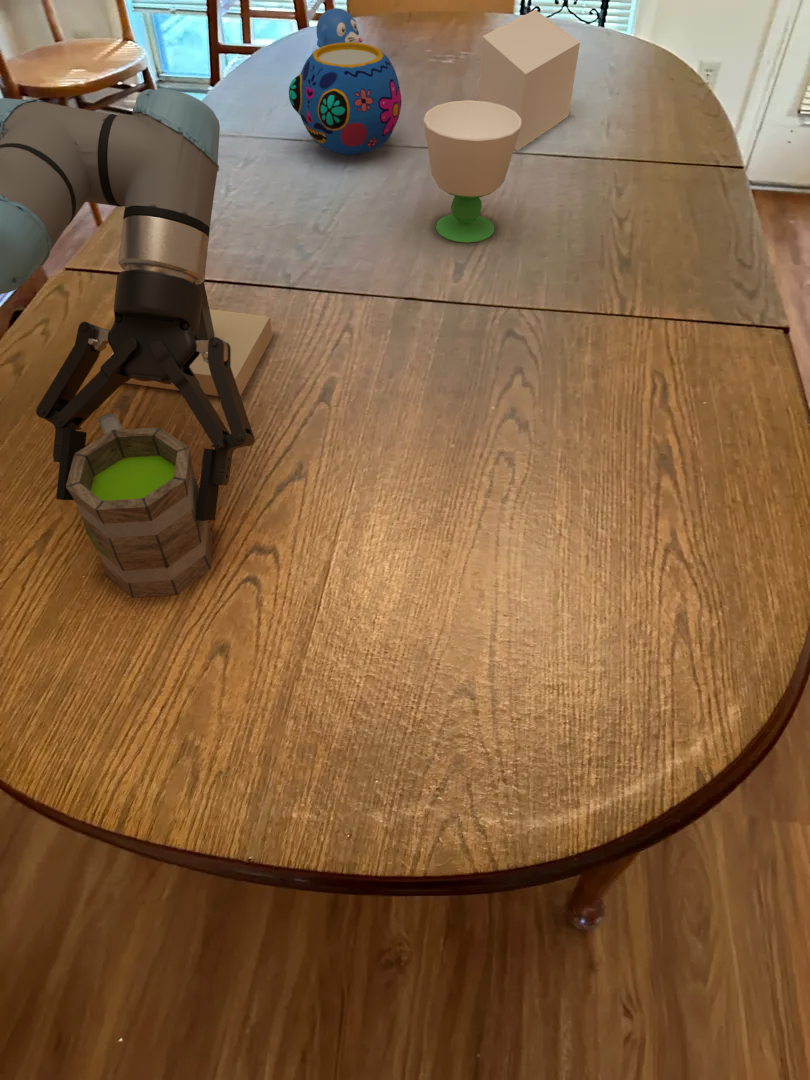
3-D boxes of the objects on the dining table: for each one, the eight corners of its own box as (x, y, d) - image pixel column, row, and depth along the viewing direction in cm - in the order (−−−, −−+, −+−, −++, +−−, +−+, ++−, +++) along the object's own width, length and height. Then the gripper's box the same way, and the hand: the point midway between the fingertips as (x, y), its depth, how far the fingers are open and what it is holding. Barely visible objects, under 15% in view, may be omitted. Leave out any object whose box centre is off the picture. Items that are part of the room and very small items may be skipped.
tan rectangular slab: (112, 381, 95) (105, 359, 92) (156, 321, 103) (150, 300, 101) (239, 399, 93) (234, 377, 90) (272, 336, 101) (269, 315, 99)
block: (467, 147, 140) (473, 70, 130) (484, 76, 162) (490, 6, 153) (566, 155, 138) (579, 77, 129) (569, 82, 161) (580, 12, 151)
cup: (422, 251, 116) (425, 139, 104) (418, 207, 125) (420, 100, 113) (515, 251, 116) (528, 139, 104) (504, 207, 125) (515, 99, 113)
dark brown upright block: (166, 339, 95) (150, 278, 89) (172, 330, 97) (157, 269, 90) (209, 345, 95) (196, 283, 89) (215, 335, 96) (202, 274, 90)
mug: (231, 574, 76) (209, 485, 66) (119, 616, 72) (80, 529, 63) (182, 472, 85) (156, 382, 75) (80, 506, 81) (41, 416, 72)
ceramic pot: (281, 146, 139) (270, 51, 128) (357, 120, 147) (354, 28, 136) (343, 180, 131) (338, 81, 119) (421, 150, 139) (423, 55, 127)
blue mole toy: (342, 70, 164) (340, 24, 158) (304, 56, 169) (300, 11, 163) (382, 56, 170) (382, 11, 163) (344, 43, 175) (342, -2, 169)
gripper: (304, 303, 73) (276, 527, 75) (58, 276, 77) (36, 491, 78) (281, 281, 66) (250, 530, 68) (9, 252, 69) (-14, 491, 71)
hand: (135, 510), depth 73 cm, fingers open, 13 cm apart
